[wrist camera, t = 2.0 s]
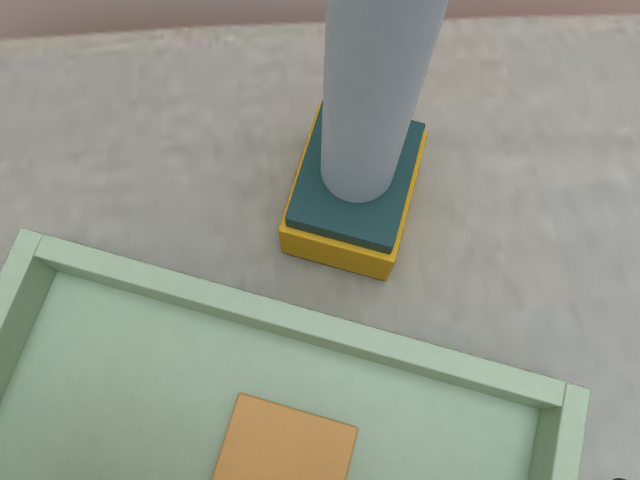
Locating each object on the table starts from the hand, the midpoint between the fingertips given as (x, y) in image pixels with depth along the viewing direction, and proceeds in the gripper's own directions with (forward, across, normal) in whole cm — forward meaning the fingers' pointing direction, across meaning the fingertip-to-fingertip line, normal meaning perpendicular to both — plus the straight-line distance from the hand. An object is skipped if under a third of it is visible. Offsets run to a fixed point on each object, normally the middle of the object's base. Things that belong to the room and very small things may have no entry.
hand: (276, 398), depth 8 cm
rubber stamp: (+15, 0, +4) cm, 16 cm away
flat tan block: (+8, 0, +10) cm, 13 cm away
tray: (+8, +1, +11) cm, 13 cm away
